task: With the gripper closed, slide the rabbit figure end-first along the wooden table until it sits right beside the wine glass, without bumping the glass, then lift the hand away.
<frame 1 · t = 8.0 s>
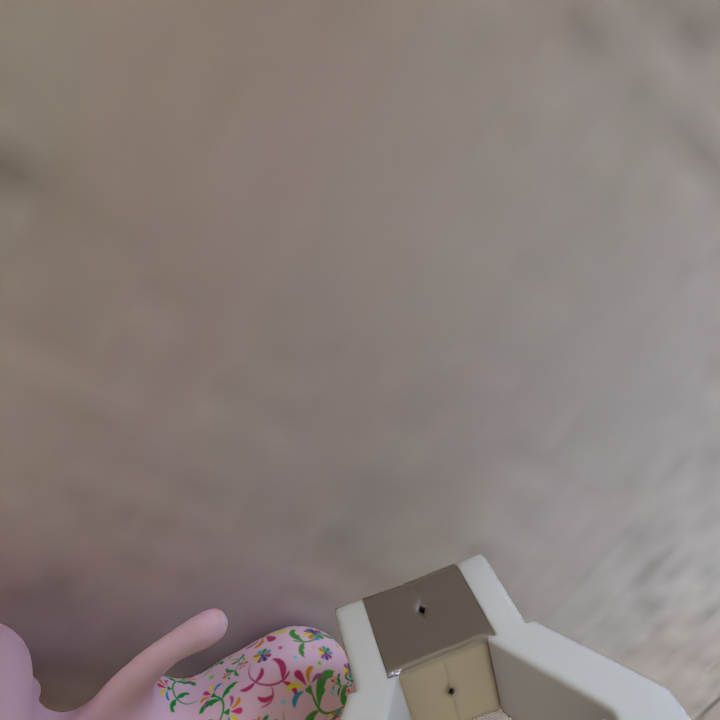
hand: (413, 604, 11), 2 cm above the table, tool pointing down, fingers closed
rabbit figure: (28, 655, 12), on the table, touching gripper
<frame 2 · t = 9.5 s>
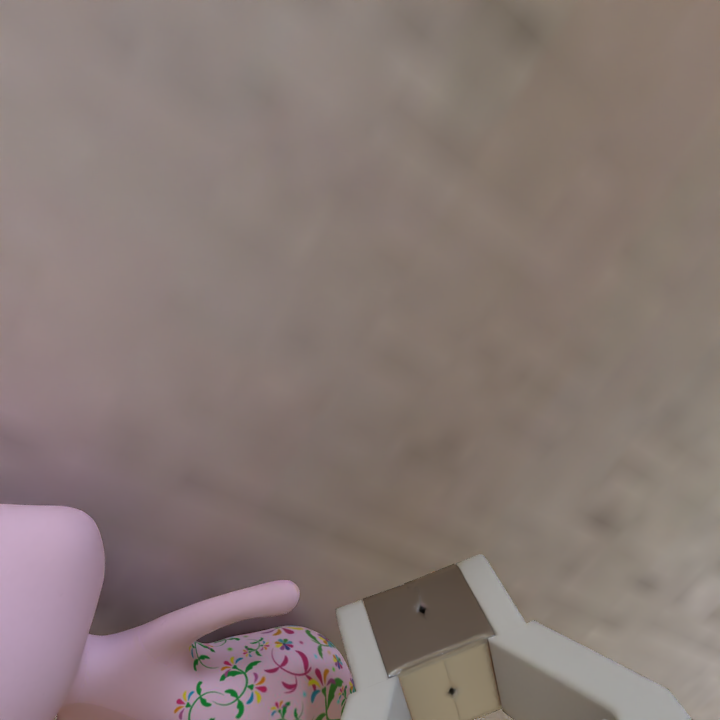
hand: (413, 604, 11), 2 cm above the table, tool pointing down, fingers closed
rabbit figure: (49, 566, 11), on the table, touching gripper
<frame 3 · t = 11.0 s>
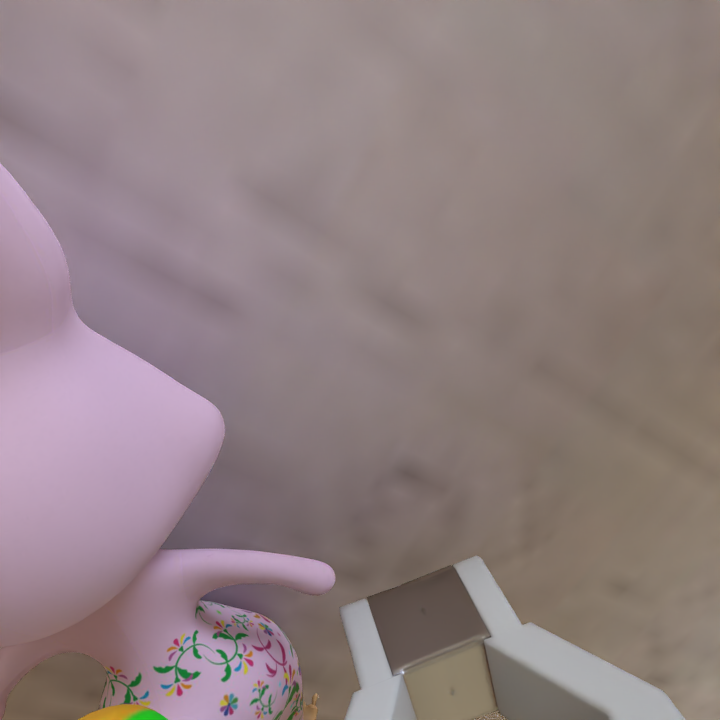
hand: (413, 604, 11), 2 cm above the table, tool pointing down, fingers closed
rabbit figure: (88, 453, 10), on the table, touching gripper
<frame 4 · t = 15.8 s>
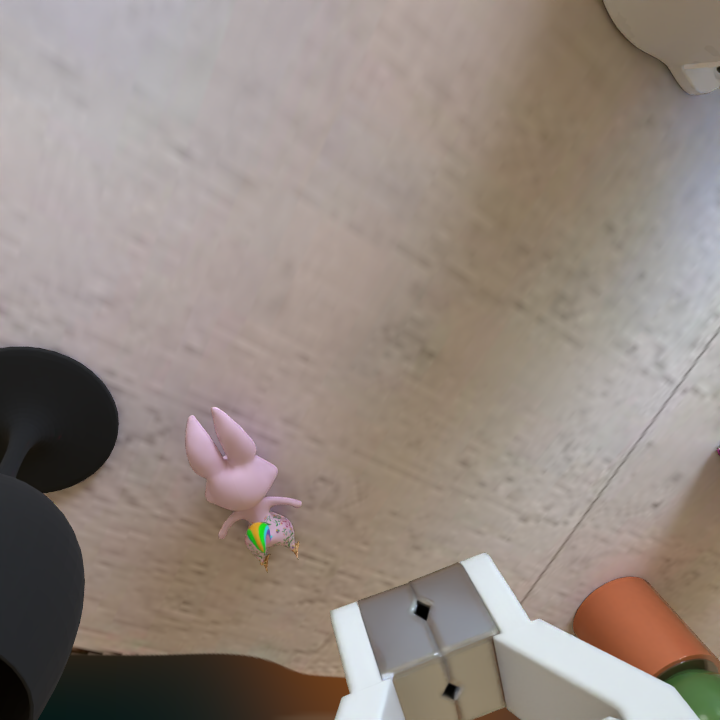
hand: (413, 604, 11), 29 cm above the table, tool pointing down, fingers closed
rabbit figure: (243, 475, 43), on the table
wine glass: (31, 420, 38), on the table
potted herb: (613, 611, 60), on the table
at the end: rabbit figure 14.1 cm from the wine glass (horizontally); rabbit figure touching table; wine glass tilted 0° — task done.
